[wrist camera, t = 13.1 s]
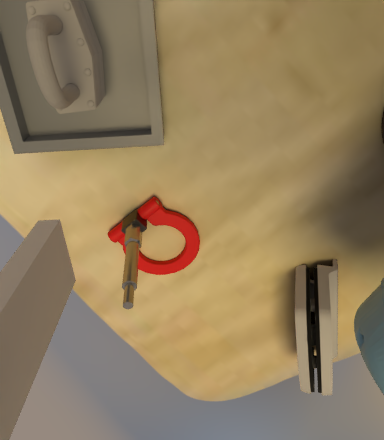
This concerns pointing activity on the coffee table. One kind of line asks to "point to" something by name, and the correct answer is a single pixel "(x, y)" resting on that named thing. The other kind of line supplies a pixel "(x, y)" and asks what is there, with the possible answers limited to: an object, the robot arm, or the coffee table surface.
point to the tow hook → (132, 239)
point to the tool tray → (113, 80)
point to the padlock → (65, 54)
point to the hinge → (316, 325)
